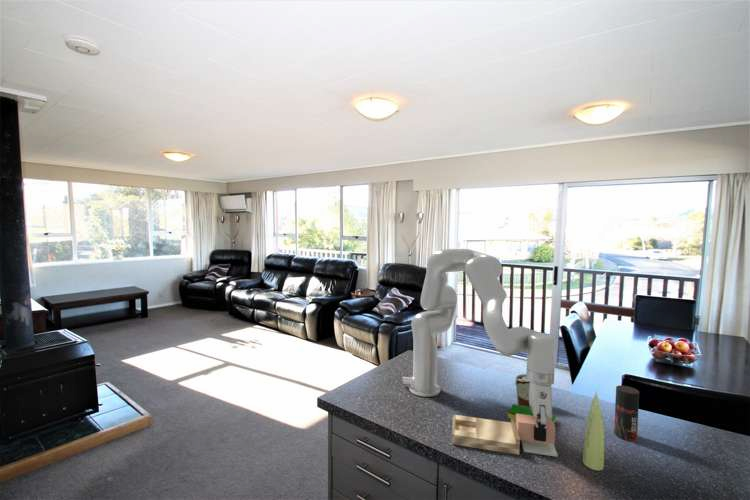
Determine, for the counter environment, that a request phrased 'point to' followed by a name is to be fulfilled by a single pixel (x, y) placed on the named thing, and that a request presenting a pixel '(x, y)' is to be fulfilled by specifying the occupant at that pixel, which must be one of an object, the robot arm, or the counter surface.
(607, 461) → the counter surface
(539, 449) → the mat
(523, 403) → the food container
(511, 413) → the dish sponge
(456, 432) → the open box
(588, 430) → the tube
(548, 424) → the block
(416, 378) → the robot arm
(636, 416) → the deodorant
